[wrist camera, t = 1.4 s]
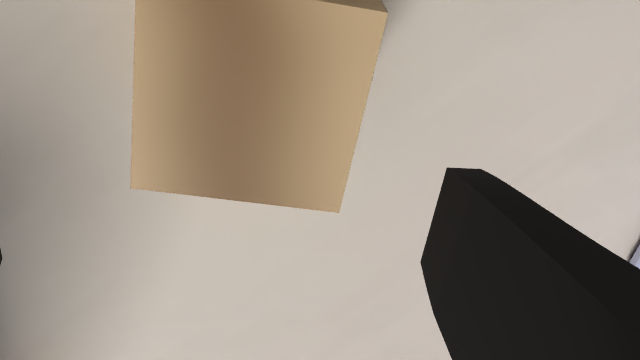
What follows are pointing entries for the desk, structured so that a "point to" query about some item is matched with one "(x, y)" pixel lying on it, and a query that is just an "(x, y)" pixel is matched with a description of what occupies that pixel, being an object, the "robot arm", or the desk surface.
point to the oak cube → (252, 97)
